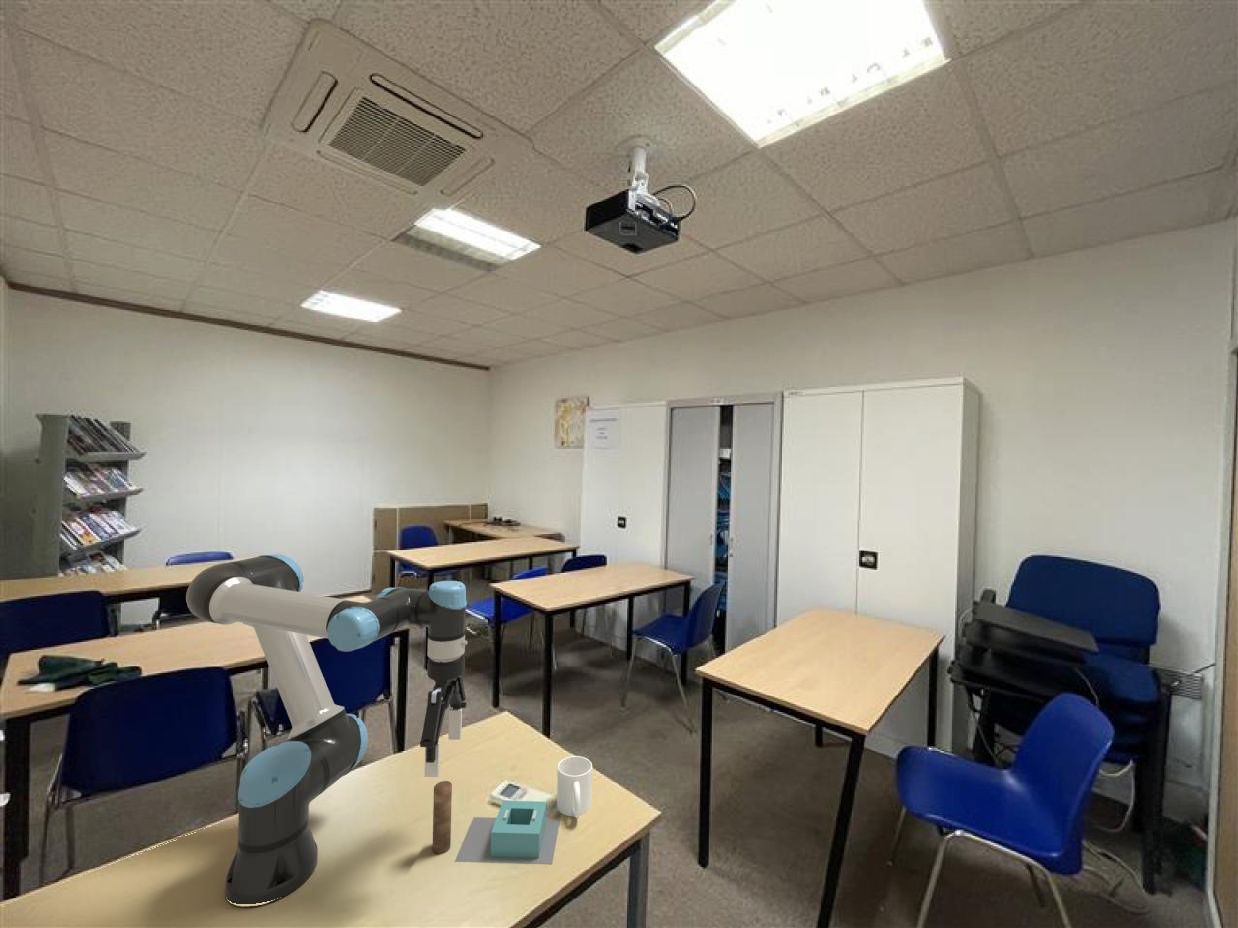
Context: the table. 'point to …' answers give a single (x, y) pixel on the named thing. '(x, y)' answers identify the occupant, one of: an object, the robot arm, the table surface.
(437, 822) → the wooden rounded dowel
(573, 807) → the mug
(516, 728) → the table surface
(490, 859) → the board
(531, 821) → the teal square peg holder
